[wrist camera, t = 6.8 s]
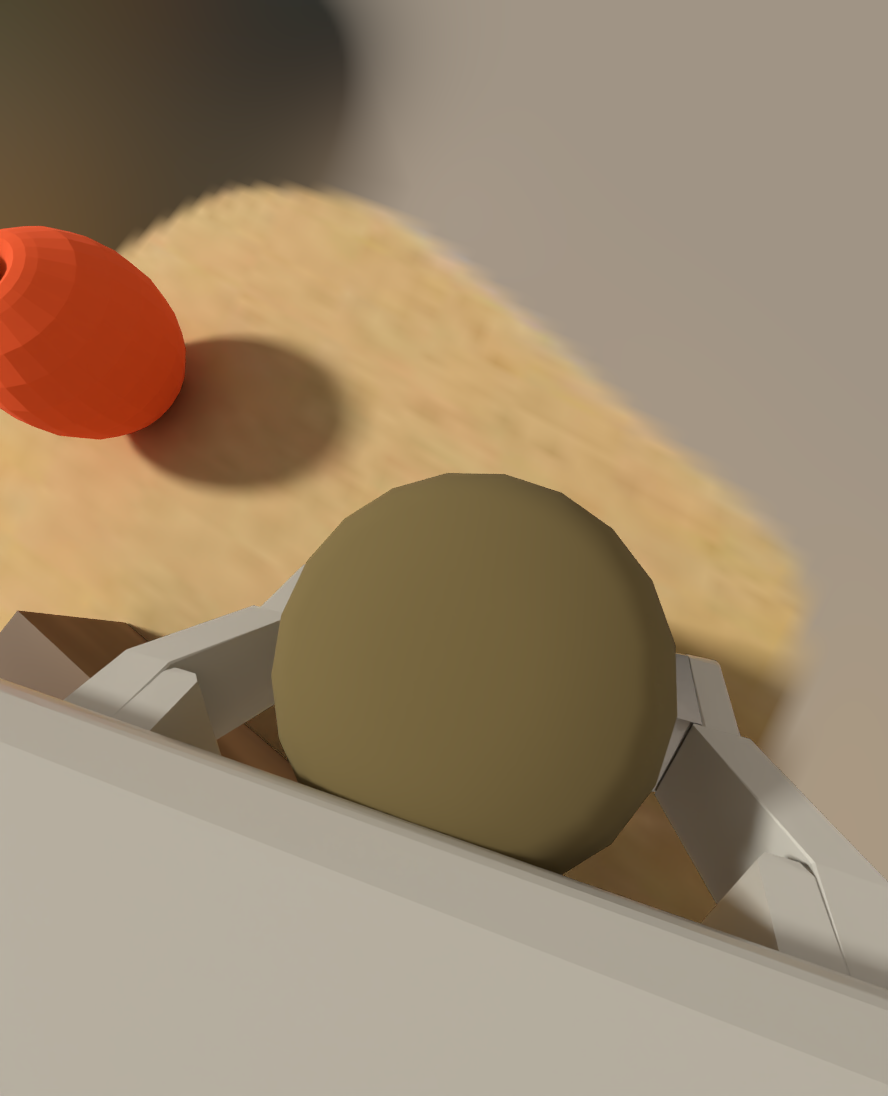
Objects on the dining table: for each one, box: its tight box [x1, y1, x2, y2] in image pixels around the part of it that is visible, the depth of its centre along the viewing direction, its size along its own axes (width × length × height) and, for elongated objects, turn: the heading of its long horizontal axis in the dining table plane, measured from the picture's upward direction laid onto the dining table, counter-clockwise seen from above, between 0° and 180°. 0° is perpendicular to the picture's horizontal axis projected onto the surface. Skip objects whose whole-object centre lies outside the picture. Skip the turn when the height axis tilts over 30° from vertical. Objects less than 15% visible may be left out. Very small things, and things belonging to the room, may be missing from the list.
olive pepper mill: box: [271, 473, 677, 875], centre depth 10 cm, size 6×6×11 cm
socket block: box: [0, 611, 298, 783], centre depth 13 cm, size 15×15×4 cm
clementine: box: [0, 226, 186, 439], centre depth 17 cm, size 8×7×7 cm
